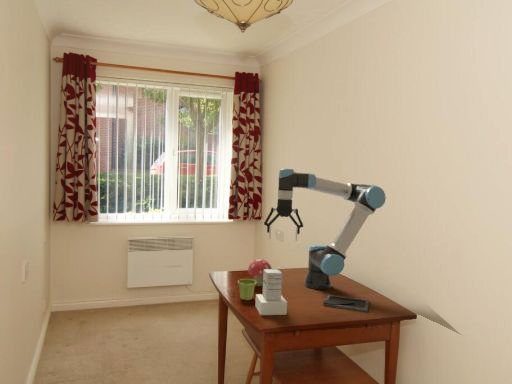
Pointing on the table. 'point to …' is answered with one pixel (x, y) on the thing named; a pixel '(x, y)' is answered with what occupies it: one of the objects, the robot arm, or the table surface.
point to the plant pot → (246, 288)
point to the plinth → (270, 306)
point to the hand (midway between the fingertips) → (282, 239)
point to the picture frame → (346, 303)
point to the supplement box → (272, 284)
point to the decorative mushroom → (258, 270)
